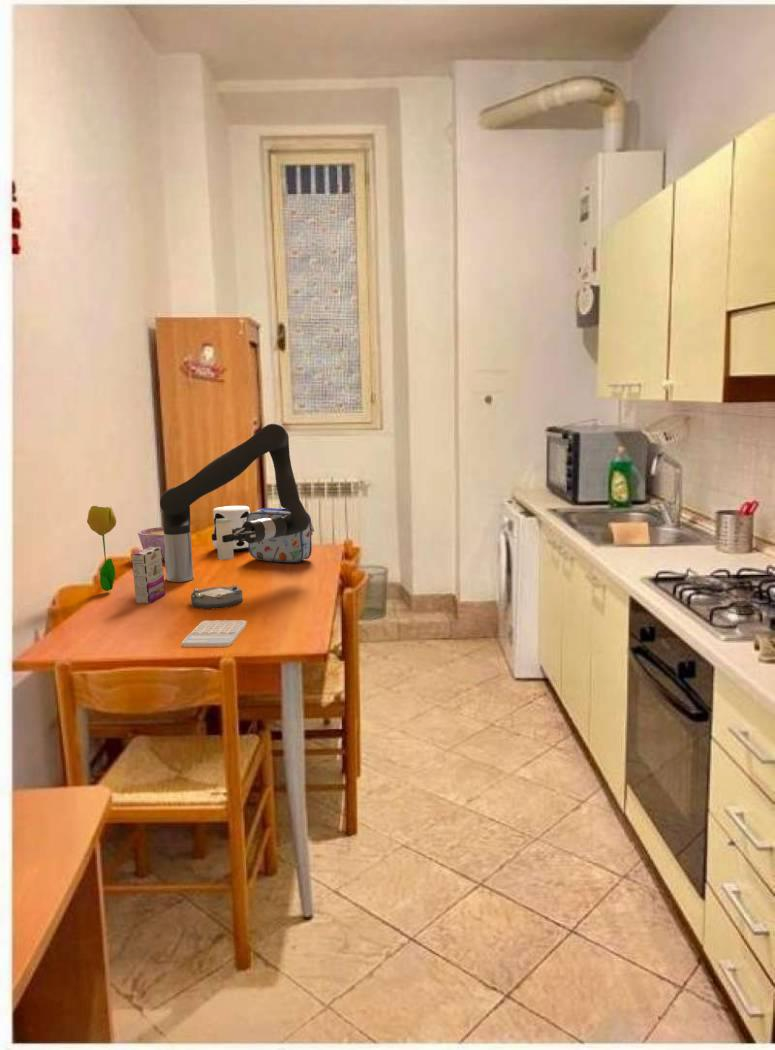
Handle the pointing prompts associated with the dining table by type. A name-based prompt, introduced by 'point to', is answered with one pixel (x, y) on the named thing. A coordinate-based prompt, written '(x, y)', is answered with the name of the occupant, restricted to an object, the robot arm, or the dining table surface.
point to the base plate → (216, 597)
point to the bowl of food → (153, 538)
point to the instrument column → (222, 547)
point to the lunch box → (281, 540)
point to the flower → (103, 523)
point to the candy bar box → (148, 575)
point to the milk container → (232, 521)
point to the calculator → (214, 633)
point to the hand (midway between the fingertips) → (217, 538)
